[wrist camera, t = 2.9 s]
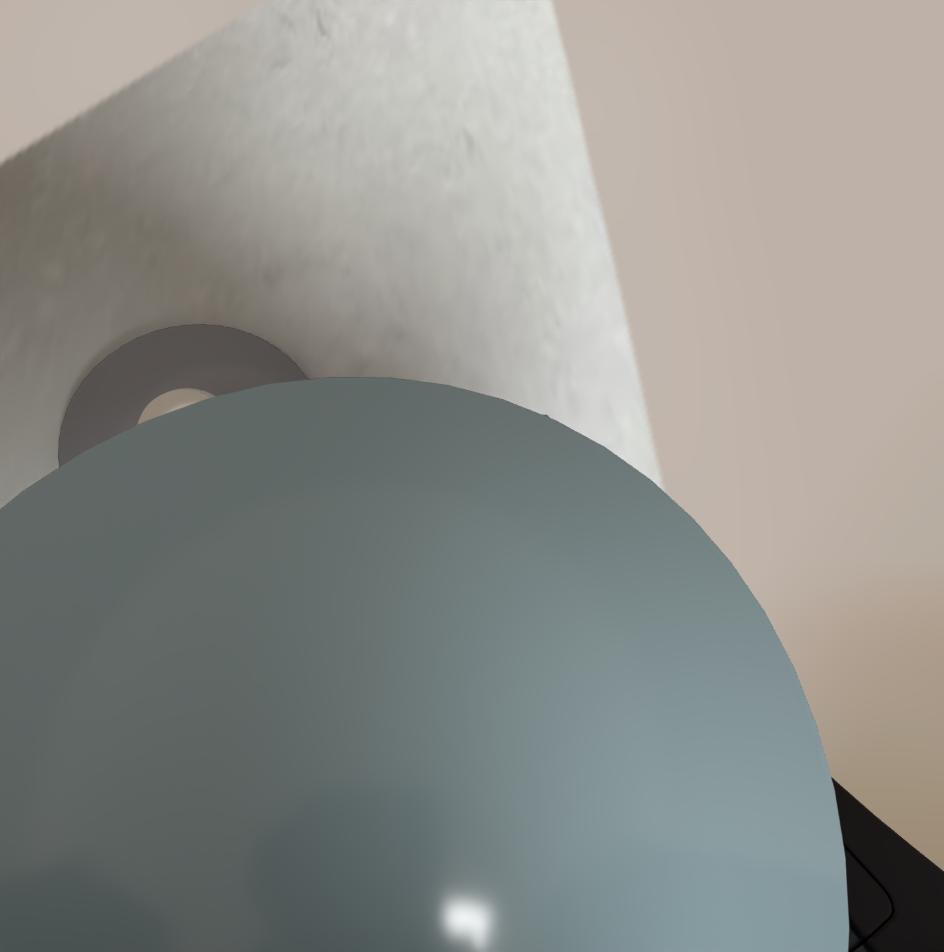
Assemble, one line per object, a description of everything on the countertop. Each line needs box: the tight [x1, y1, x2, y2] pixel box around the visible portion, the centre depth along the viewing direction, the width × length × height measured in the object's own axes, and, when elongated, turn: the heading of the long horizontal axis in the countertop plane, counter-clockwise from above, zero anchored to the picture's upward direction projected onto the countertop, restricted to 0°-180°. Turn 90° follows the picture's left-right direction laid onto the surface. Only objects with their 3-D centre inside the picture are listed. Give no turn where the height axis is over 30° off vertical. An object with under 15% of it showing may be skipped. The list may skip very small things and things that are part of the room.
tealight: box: [137, 388, 215, 425], centre depth 15 cm, size 2×2×1 cm
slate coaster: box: [58, 324, 308, 467], centre depth 16 cm, size 7×7×1 cm
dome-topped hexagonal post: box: [0, 377, 849, 952], centre depth 10 cm, size 6×6×13 cm
